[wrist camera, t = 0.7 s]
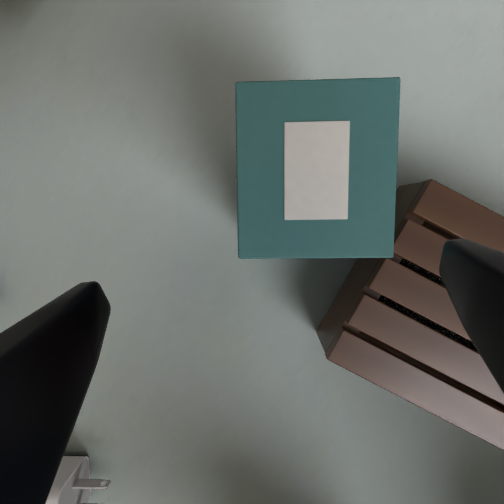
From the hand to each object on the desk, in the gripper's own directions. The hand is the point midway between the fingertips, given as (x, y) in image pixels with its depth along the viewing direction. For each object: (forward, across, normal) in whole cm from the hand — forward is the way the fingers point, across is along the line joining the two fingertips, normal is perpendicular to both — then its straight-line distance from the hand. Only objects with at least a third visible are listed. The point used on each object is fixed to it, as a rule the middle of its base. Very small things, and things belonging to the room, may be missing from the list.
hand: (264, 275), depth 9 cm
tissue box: (+15, -2, +4) cm, 16 cm away
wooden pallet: (+11, -12, +13) cm, 21 cm away
